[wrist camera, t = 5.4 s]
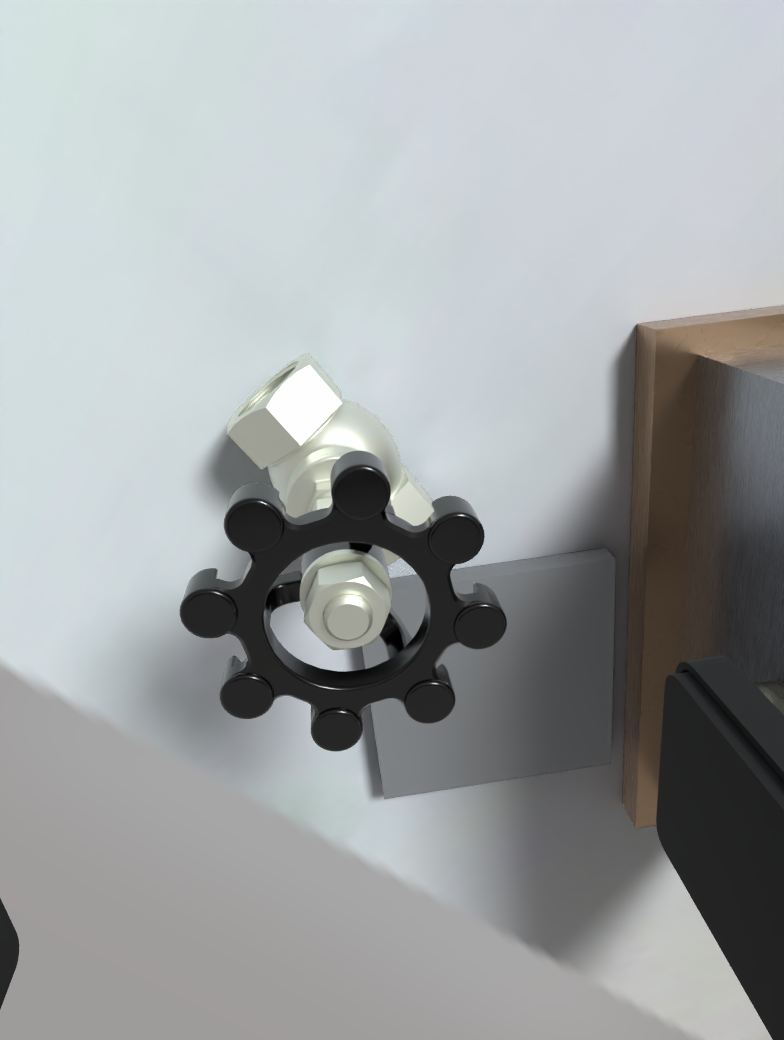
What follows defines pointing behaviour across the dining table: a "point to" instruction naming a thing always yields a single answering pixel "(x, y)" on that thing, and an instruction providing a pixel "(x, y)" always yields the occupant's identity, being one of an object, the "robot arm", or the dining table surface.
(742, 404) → the box
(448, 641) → the valve
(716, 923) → the robot arm
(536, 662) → the parts mat
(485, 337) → the dining table surface
